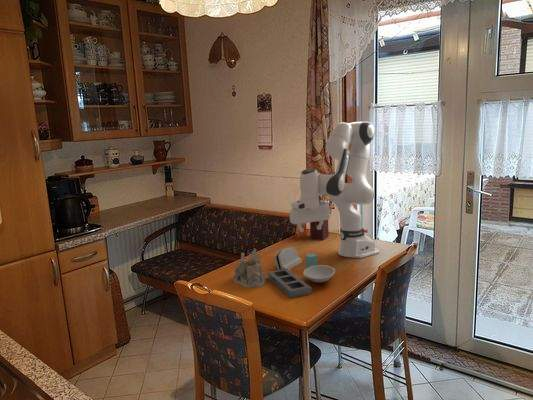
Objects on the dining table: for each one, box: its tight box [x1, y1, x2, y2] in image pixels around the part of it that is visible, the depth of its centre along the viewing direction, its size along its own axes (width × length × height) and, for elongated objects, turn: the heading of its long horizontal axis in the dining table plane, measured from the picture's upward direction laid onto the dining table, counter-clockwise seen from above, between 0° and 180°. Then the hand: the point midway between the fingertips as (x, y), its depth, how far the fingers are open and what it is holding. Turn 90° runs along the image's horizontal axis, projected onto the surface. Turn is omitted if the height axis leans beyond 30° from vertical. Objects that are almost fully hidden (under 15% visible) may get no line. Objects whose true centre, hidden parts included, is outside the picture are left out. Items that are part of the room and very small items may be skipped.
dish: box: [302, 264, 336, 283], centre depth 191 cm, size 18×14×5 cm
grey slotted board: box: [267, 269, 312, 299], centre depth 188 cm, size 10×26×3 cm, turn 21°
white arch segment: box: [274, 246, 303, 270], centre depth 215 cm, size 17×5×10 cm, turn 145°
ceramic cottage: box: [232, 248, 267, 289], centre depth 195 cm, size 16×16×15 cm
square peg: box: [305, 253, 319, 269], centre depth 205 cm, size 4×4×8 cm
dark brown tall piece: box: [309, 193, 330, 241], centre depth 259 cm, size 9×11×28 cm
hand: (310, 230), depth 202 cm, fingers open, 8 cm apart
